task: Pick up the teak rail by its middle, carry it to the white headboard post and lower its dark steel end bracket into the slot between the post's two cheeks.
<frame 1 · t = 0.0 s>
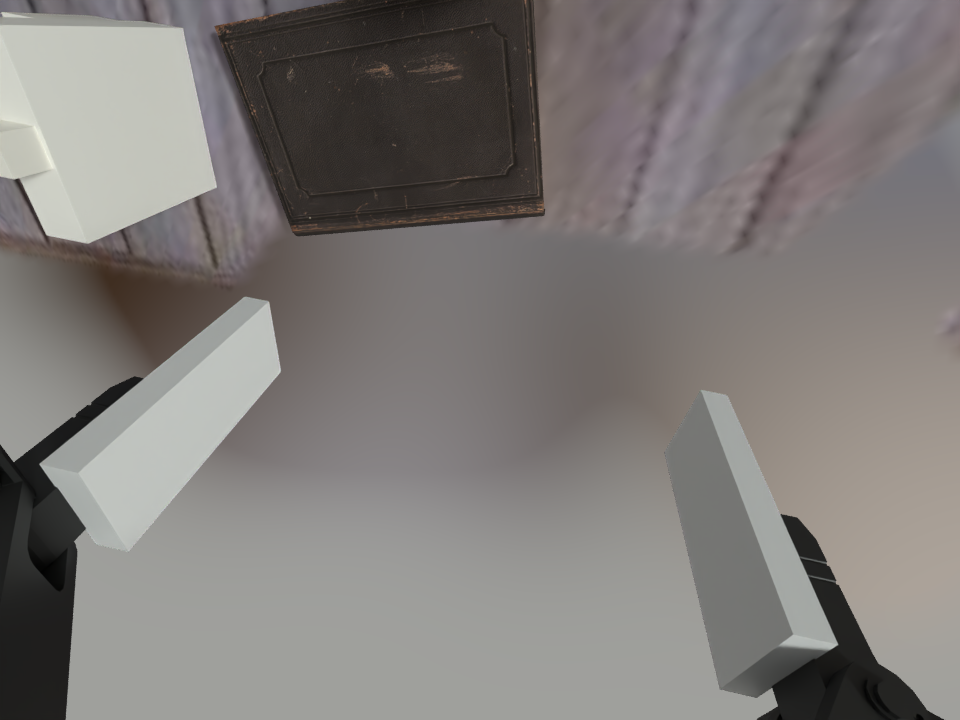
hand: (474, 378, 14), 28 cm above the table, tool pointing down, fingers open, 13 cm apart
hardcover book: (399, 123, 37), on the table
headboard post: (156, 106, 38), on the table
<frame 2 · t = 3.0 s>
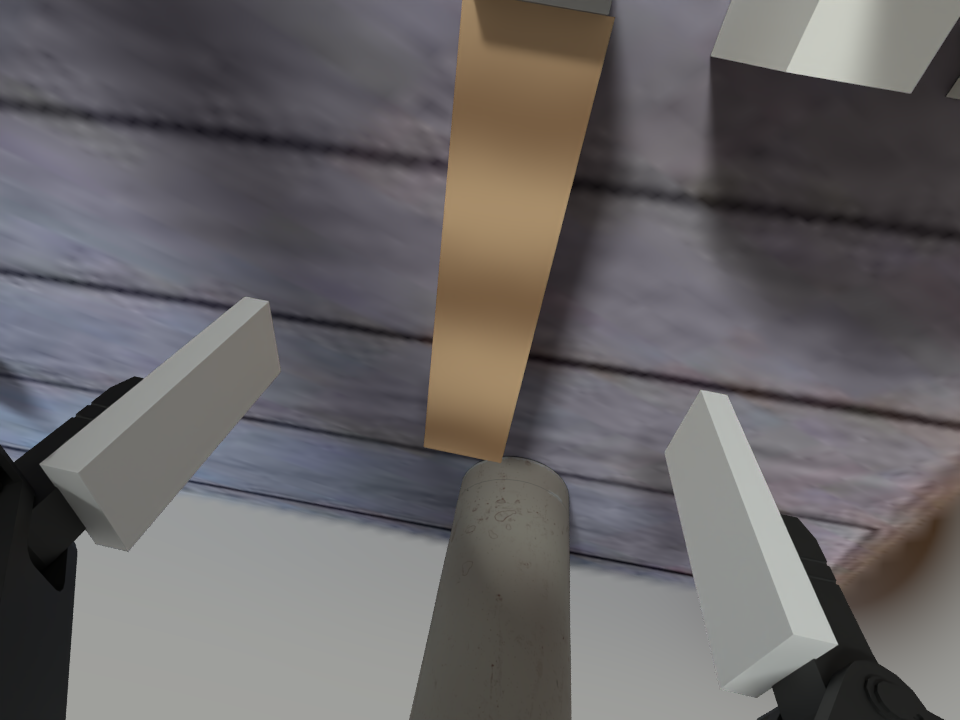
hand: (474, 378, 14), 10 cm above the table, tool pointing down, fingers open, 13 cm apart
thermos bottle: (514, 489, 33), on the table
rail: (504, 242, 22), on the table
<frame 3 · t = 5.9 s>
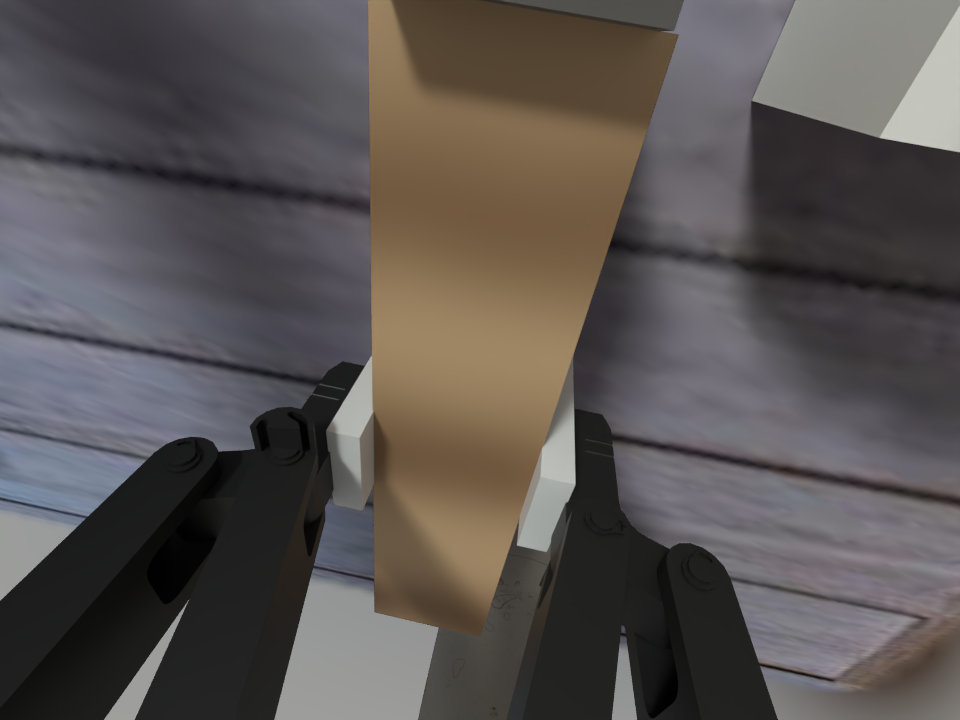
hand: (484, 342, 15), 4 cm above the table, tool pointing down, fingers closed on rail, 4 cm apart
thermos bottle: (514, 558, 30), on the table
rail: (486, 336, 16), point 4 cm above the table, touching gripper
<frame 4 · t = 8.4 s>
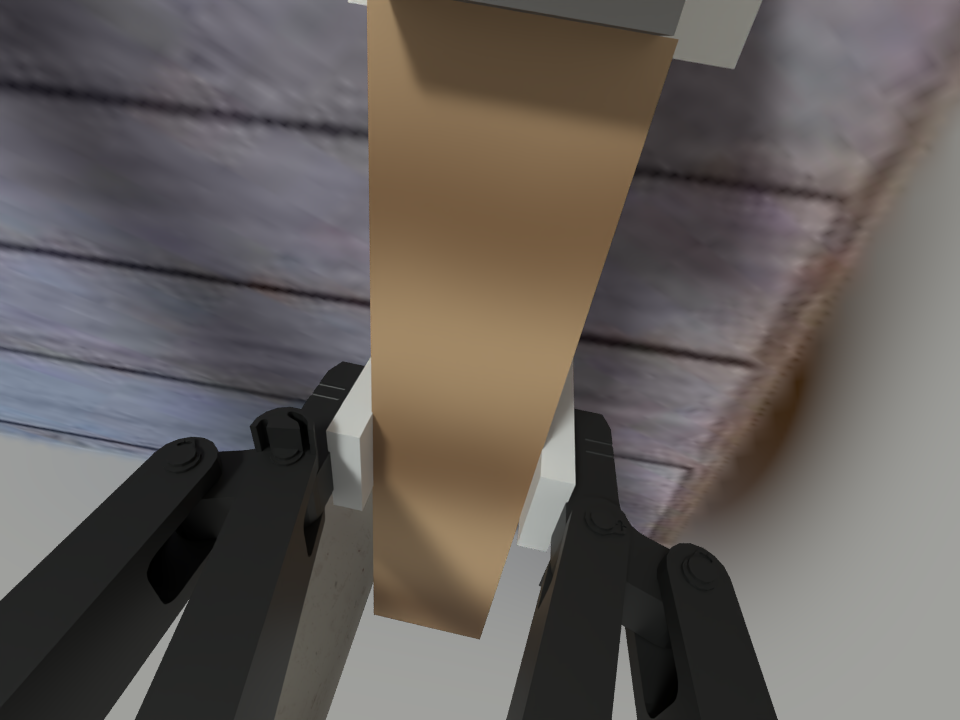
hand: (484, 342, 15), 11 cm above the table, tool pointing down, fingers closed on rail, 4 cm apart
thermos bottle: (370, 437, 36), on the table
rail: (485, 338, 16), point 10 cm above the table, touching gripper
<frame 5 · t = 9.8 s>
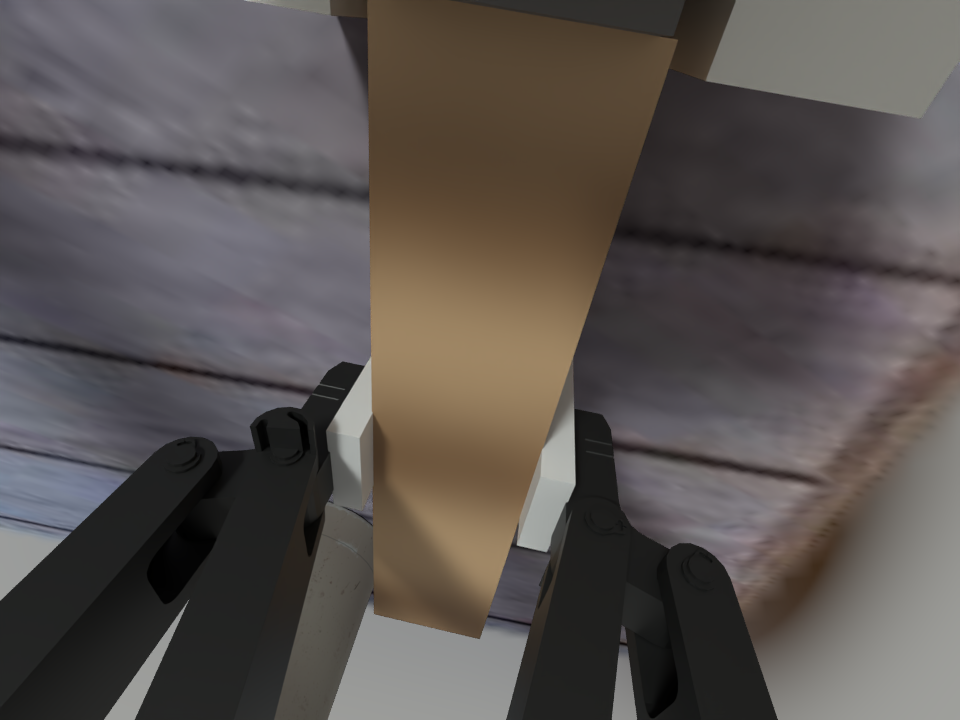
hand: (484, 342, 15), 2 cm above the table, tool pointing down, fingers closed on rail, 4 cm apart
thermos bottle: (327, 532, 29), on the table
rail: (485, 338, 16), point 2 cm above the table, touching gripper
when the fingers open (0 cm above the table, at t = 10.7 s): rail stays where it is, on the table.
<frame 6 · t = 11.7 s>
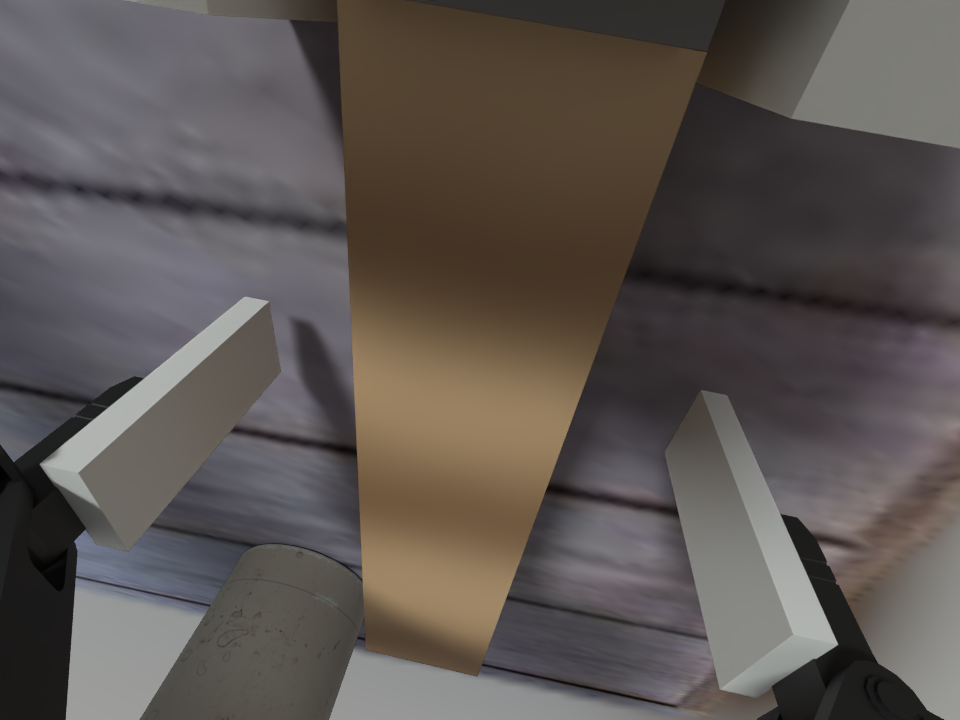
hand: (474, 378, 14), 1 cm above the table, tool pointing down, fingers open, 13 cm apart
thermos bottle: (307, 578, 27), on the table
rail: (483, 359, 15), on the table
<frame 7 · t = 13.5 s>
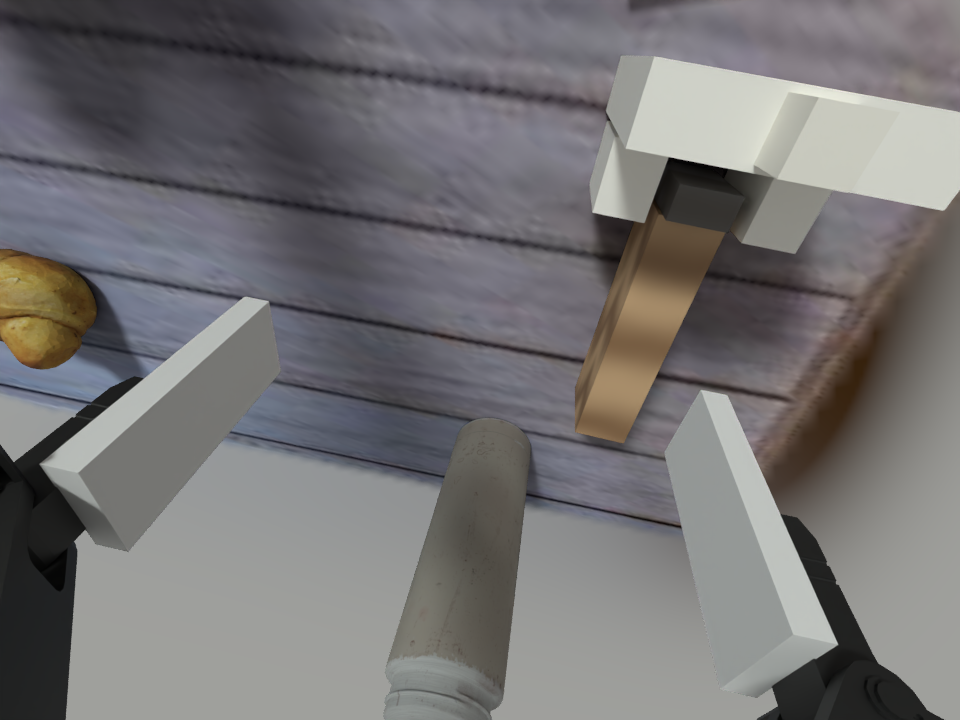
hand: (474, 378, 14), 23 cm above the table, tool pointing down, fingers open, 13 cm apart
thermos bottle: (493, 444, 48), on the table
bread roll: (51, 282, 46), on the table
rail: (629, 308, 36), on the table
headboard post: (692, 145, 29), on the table
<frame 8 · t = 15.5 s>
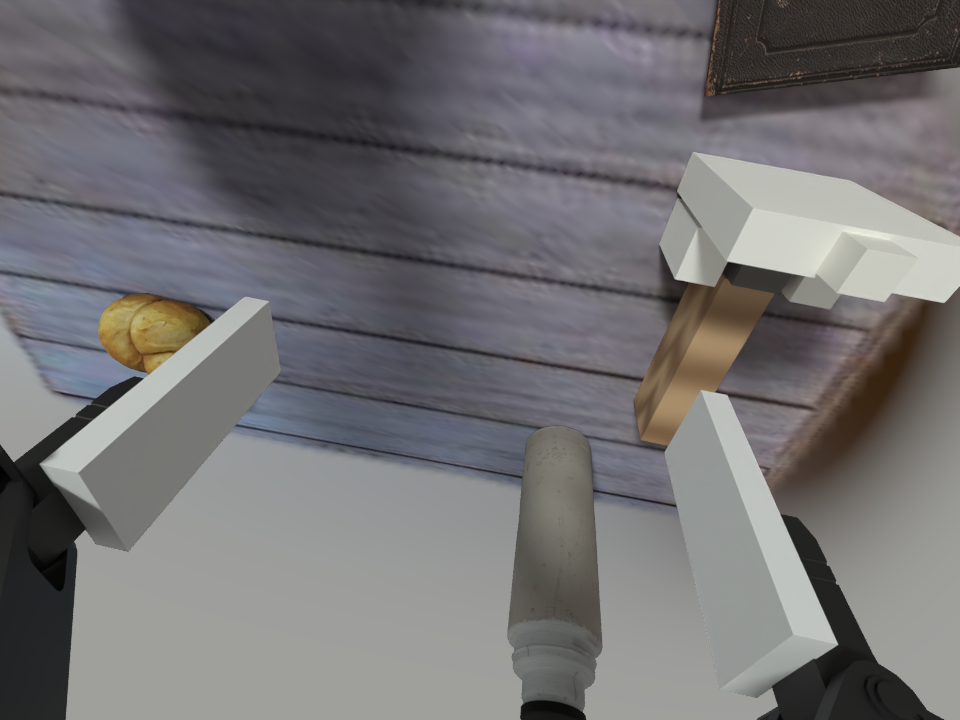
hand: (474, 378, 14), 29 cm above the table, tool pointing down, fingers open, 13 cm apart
thermos bottle: (557, 447, 56), on the table
bread roll: (174, 318, 53), on the table
rail: (685, 337, 44), on the table
headboard post: (745, 217, 37), on the table
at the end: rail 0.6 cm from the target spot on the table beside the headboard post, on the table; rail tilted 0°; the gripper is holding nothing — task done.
